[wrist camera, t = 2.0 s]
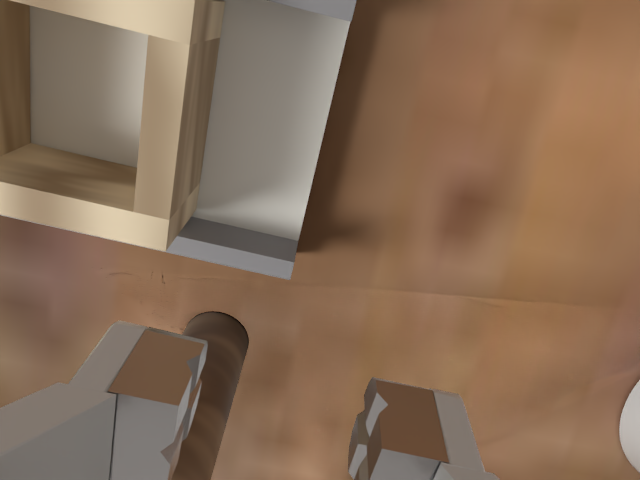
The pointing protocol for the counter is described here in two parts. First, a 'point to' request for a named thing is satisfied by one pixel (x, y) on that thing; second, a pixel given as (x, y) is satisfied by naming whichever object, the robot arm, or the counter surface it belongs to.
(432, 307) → the counter surface
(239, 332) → the dowel
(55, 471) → the robot arm
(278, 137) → the rail base
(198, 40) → the socket block
